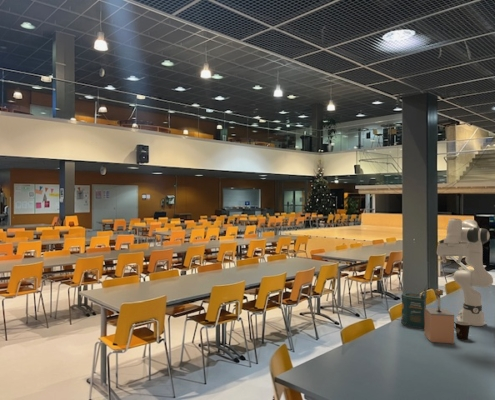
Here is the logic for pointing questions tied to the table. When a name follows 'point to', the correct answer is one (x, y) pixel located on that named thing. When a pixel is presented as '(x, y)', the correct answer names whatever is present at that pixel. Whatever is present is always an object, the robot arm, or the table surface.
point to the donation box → (414, 309)
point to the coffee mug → (462, 330)
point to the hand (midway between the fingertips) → (451, 262)
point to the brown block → (439, 325)
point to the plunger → (438, 292)
